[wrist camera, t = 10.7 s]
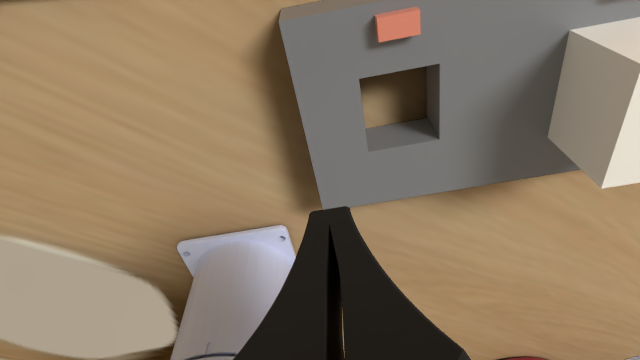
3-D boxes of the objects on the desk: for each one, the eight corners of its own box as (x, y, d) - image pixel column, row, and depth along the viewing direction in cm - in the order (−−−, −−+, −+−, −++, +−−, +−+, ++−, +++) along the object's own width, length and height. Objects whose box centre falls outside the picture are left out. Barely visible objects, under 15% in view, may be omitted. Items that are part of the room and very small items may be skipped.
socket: (642, 132, 23) (683, 159, 21) (321, 186, 25) (323, 218, 22) (721, -83, 17) (795, -80, 14) (281, 8, 18) (277, 25, 16)
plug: (608, 124, 22) (703, 192, 17) (526, 137, 23) (594, 209, 17) (646, 0, 18) (785, 39, 13) (546, 18, 19) (642, 64, 13)
